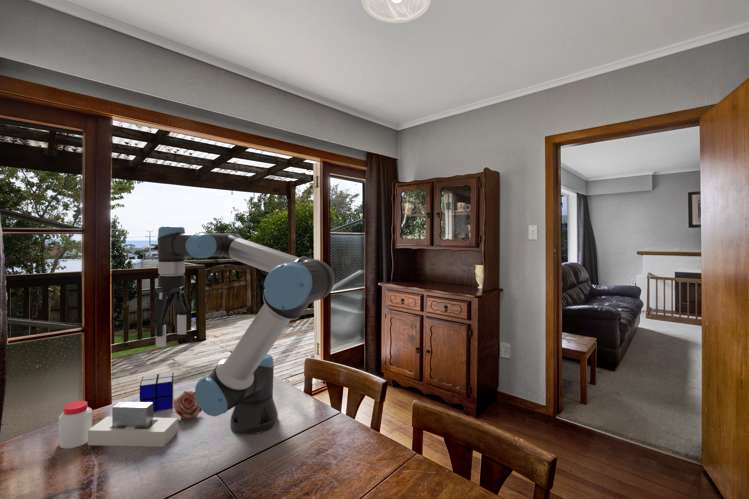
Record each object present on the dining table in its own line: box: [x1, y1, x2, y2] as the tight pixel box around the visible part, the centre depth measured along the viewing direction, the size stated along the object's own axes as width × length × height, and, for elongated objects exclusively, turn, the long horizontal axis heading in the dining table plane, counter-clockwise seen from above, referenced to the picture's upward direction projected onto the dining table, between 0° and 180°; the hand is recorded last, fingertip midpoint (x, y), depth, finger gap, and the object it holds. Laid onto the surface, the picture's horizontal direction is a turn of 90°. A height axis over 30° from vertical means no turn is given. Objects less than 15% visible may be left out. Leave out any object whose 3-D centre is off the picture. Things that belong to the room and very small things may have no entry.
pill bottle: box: [58, 400, 93, 449], centre depth 109 cm, size 8×8×11 cm
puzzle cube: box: [139, 371, 175, 413], centre depth 132 cm, size 10×10×10 cm
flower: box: [170, 390, 203, 421], centre depth 125 cm, size 10×9×8 cm
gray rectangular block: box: [111, 401, 154, 429], centre depth 112 cm, size 10×4×10 cm, turn 91°
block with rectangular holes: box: [87, 416, 179, 448], centre depth 112 cm, size 22×8×4 cm, turn 91°
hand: (171, 339), depth 119 cm, fingers open, 13 cm apart
